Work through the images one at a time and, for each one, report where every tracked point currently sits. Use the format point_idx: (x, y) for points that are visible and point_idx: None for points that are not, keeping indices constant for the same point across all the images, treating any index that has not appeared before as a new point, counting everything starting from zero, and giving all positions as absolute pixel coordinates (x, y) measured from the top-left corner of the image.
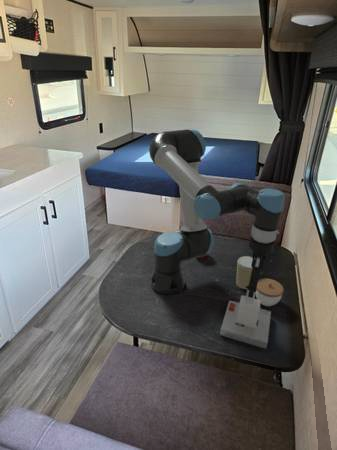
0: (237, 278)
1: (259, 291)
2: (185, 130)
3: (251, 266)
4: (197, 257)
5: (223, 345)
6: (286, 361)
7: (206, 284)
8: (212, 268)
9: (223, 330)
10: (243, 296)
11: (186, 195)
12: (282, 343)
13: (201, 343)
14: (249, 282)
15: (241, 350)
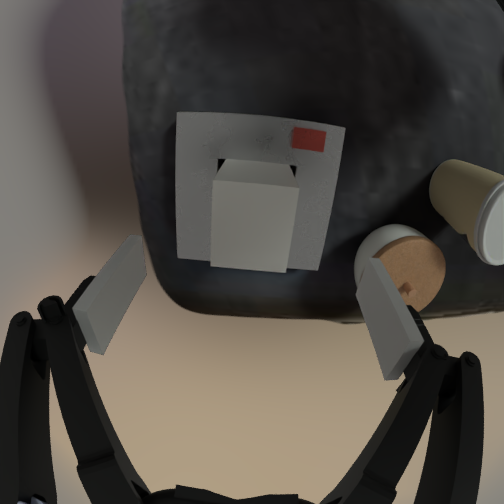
0: (460, 166)
1: (382, 250)
2: None
3: (109, 458)
4: (499, 4)
5: (149, 130)
6: (168, 286)
7: (427, 53)
8: (497, 89)
9: (177, 121)
10: (293, 197)
11: None
12: (220, 283)
13: (134, 69)
14: (3, 357)
15: (151, 183)
